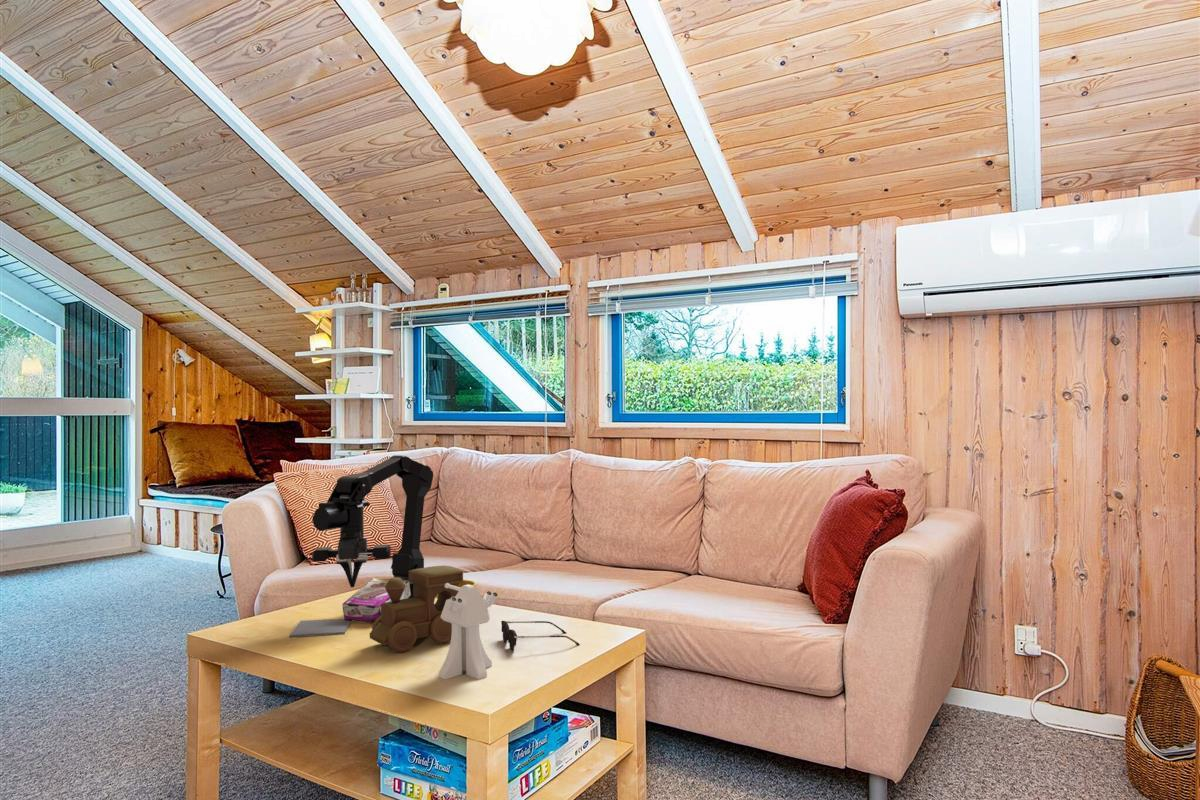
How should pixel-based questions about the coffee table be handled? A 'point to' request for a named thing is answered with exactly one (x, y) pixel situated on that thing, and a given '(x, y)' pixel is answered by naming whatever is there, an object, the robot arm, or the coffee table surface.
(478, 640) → the toy gun turret
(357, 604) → the candy bar box
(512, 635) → the sunglasses
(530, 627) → the coffee table surface
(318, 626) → the mat
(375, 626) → the wooden toy train
